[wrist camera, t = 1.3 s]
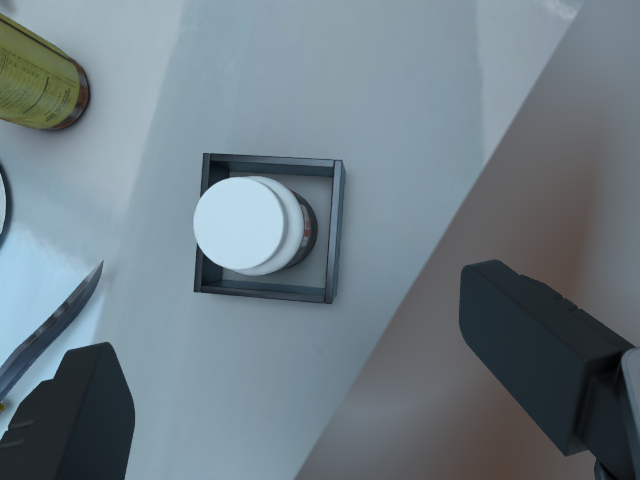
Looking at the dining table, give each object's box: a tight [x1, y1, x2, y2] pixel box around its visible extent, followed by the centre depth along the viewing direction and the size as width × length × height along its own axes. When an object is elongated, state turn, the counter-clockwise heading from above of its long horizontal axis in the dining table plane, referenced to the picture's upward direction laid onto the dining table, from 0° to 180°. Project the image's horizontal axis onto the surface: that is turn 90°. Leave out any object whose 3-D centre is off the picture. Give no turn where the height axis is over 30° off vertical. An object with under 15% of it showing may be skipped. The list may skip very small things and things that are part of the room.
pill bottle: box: [193, 176, 317, 276], centre depth 26 cm, size 6×6×10 cm
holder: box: [194, 153, 345, 304], centre depth 29 cm, size 9×9×4 cm
